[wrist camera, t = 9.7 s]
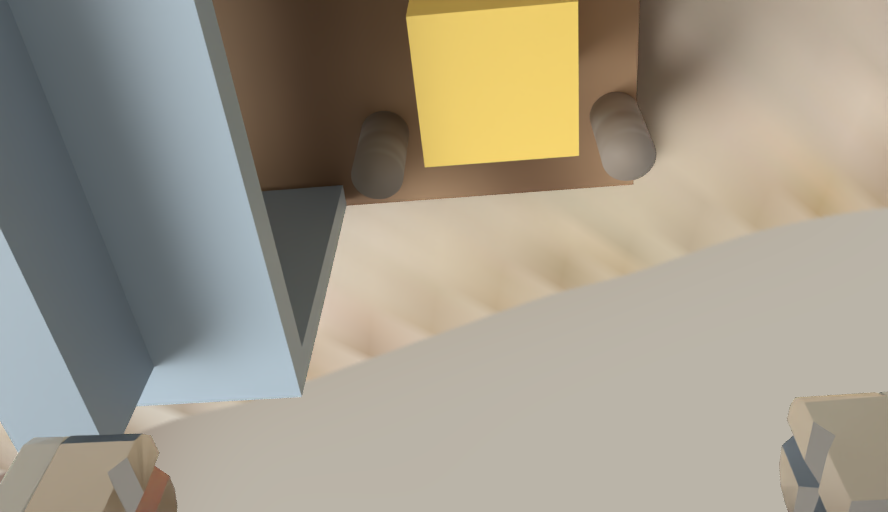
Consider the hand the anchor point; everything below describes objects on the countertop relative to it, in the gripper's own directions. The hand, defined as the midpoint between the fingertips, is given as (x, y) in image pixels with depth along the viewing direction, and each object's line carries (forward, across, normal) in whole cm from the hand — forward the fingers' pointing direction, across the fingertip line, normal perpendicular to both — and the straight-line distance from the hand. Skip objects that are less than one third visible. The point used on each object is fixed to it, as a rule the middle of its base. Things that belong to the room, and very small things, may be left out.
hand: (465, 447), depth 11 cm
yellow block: (+18, +1, 0) cm, 18 cm away
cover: (+17, -9, 0) cm, 20 cm away
